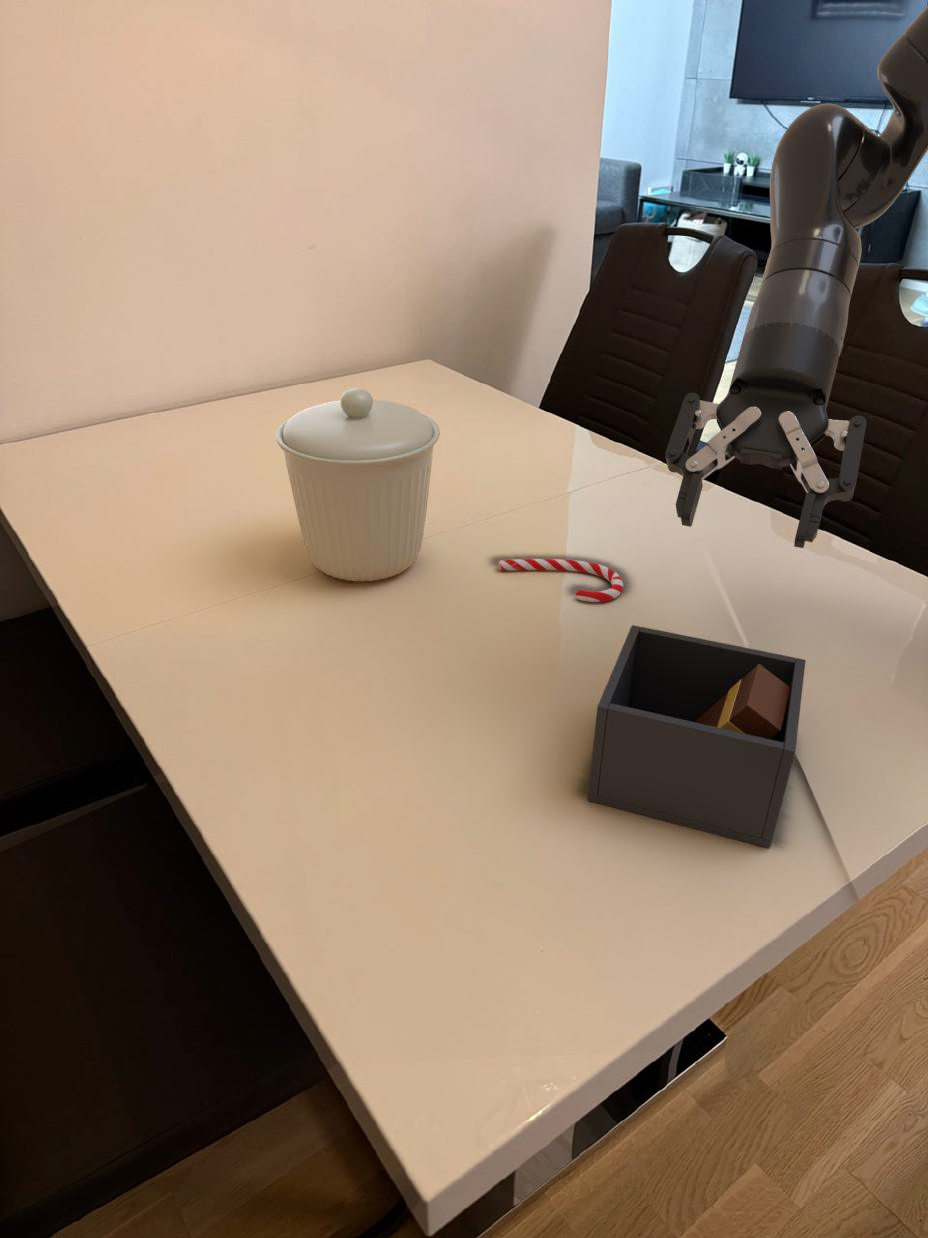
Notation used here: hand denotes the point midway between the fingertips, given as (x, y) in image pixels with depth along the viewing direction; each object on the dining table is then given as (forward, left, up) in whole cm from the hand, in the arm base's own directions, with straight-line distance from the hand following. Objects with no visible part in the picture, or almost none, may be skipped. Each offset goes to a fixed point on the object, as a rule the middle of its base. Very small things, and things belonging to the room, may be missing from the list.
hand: (741, 533), depth 70 cm
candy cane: (+11, -29, -21) cm, 38 cm away
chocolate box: (+1, +4, -20) cm, 20 cm away
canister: (+34, -33, -21) cm, 52 cm away
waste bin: (+2, +4, -21) cm, 22 cm away
